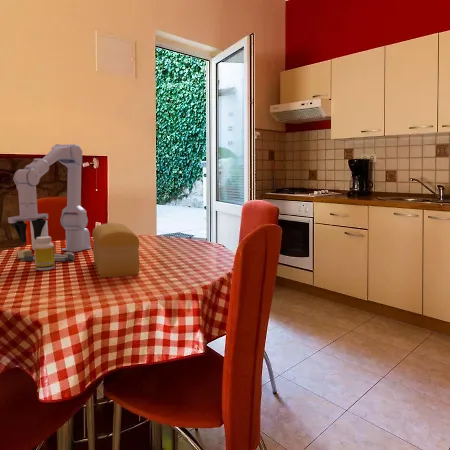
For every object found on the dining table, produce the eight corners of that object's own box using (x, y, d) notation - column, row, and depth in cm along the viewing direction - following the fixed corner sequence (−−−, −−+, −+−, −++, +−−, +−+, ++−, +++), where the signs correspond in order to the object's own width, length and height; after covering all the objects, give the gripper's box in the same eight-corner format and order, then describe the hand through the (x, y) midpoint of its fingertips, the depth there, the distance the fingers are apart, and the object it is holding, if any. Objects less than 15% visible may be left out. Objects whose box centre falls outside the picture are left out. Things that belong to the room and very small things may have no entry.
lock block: (26, 255, 154) (25, 249, 154) (32, 256, 153) (31, 250, 152) (17, 257, 151) (17, 250, 151) (23, 258, 150) (23, 251, 149)
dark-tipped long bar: (46, 254, 159) (45, 248, 158) (78, 260, 150) (78, 253, 150) (38, 256, 156) (38, 250, 155) (71, 261, 147) (70, 255, 147)
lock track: (26, 256, 155) (26, 256, 155) (40, 259, 151) (40, 258, 151) (17, 258, 151) (17, 257, 151) (31, 261, 147) (31, 260, 147)
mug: (45, 250, 167) (43, 222, 165) (28, 250, 166) (27, 222, 165) (54, 245, 177) (52, 219, 175) (38, 245, 176) (37, 219, 174)
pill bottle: (58, 268, 137) (56, 237, 136) (39, 271, 133) (37, 239, 131) (50, 265, 142) (49, 235, 140) (32, 268, 137) (30, 237, 136)
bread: (93, 261, 148) (91, 222, 146) (127, 259, 153) (126, 220, 151) (100, 278, 126) (98, 232, 124) (140, 274, 131) (139, 230, 129)
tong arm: (28, 258, 150) (28, 251, 150) (73, 259, 149) (72, 252, 149) (24, 260, 148) (23, 252, 147) (69, 261, 146) (69, 253, 146)
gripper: (38, 201, 149) (40, 236, 151) (1, 204, 137) (4, 242, 139) (51, 202, 146) (53, 238, 148) (14, 205, 133) (17, 244, 135)
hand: (30, 240), depth 143 cm, fingers open, 5 cm apart
